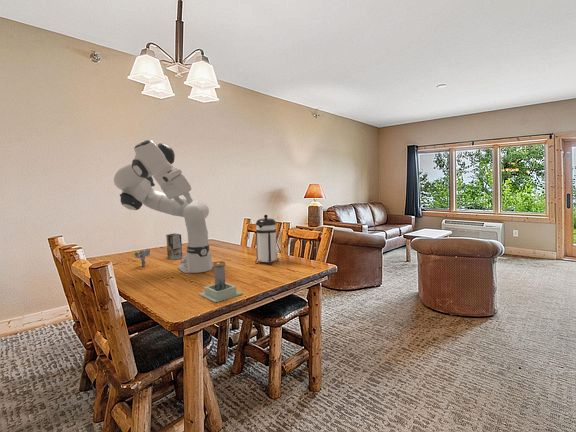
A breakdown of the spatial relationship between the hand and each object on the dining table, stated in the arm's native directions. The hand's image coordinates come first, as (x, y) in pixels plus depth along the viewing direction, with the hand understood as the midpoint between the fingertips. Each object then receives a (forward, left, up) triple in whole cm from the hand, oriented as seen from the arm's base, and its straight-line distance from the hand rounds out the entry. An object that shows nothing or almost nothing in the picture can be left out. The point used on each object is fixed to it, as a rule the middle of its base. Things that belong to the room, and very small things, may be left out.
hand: (186, 203), depth 133 cm
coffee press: (-19, +62, -41) cm, 76 cm away
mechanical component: (-66, +4, -41) cm, 78 cm away
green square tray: (+9, +10, -41) cm, 43 cm away
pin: (+9, +9, -40) cm, 42 cm away
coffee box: (-73, +27, -41) cm, 88 cm away
